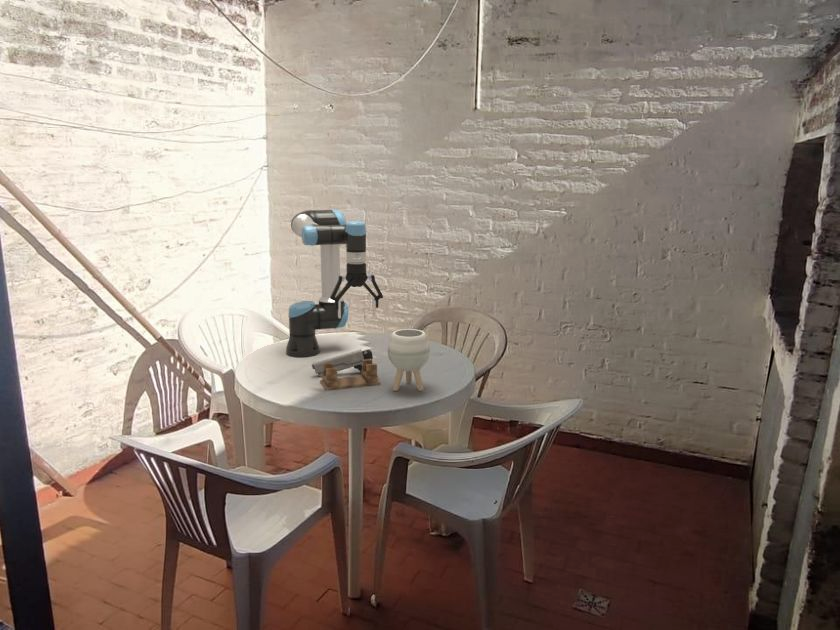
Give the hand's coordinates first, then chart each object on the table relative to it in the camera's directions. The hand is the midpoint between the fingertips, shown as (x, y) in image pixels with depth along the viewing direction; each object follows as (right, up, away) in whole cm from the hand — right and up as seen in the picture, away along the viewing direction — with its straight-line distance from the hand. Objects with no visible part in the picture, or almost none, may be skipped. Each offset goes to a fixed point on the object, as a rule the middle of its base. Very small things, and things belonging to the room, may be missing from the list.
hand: (357, 316), depth 248 cm
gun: (-7, -24, +16) cm, 30 cm away
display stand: (-3, -26, +5) cm, 27 cm away
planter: (+20, -28, 0) cm, 34 cm away
